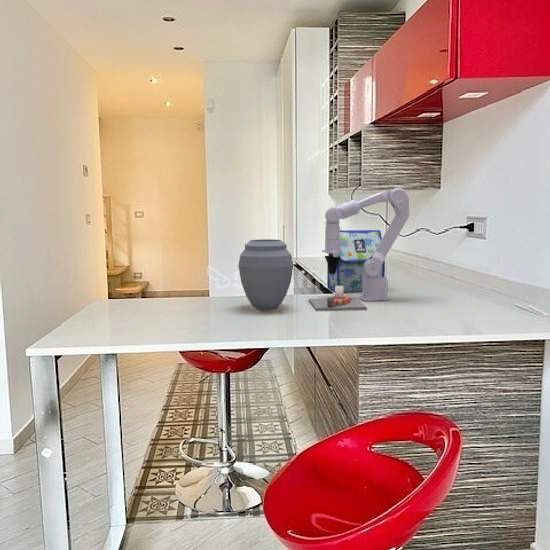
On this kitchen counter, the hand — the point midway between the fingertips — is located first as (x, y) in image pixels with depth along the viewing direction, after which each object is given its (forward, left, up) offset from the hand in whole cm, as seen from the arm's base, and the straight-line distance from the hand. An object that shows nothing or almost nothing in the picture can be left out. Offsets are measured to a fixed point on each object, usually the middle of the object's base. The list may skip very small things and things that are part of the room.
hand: (332, 273), depth 209 cm
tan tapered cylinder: (+1, +20, -10) cm, 22 cm away
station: (0, +14, -10) cm, 17 cm away
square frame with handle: (+2, +17, -9) cm, 19 cm away
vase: (+27, +17, -10) cm, 33 cm away
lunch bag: (-14, -20, -10) cm, 26 cm away
